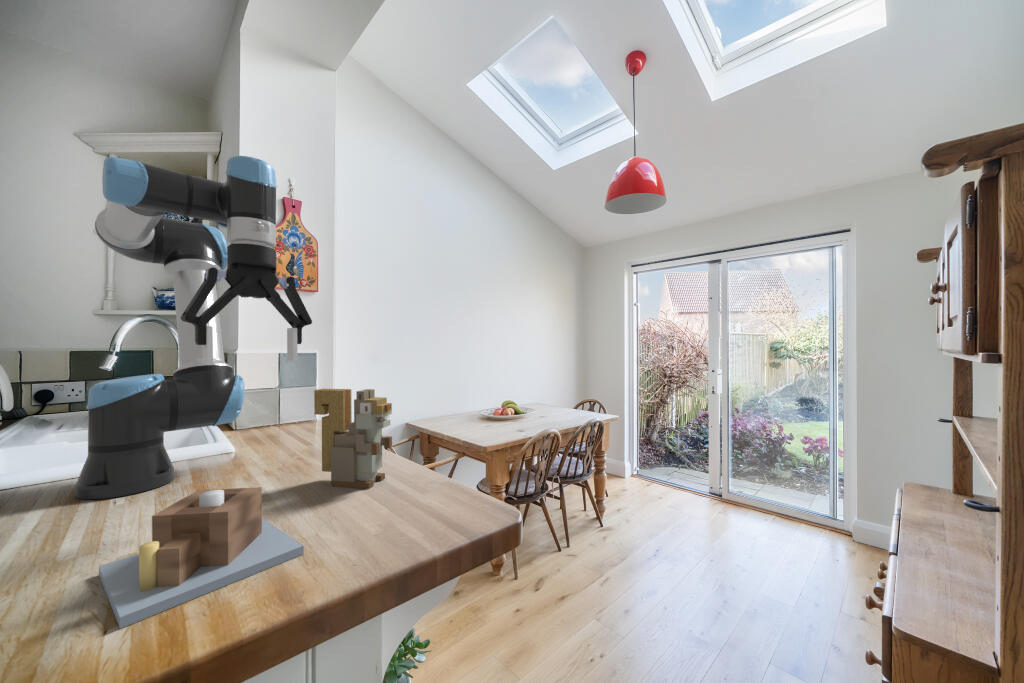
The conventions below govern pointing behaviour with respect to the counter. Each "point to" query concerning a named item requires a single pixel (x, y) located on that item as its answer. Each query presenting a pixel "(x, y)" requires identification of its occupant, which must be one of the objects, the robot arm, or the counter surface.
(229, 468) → the counter surface
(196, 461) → the counter surface
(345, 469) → the toy
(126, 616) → the post board
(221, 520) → the tabbed square frame
